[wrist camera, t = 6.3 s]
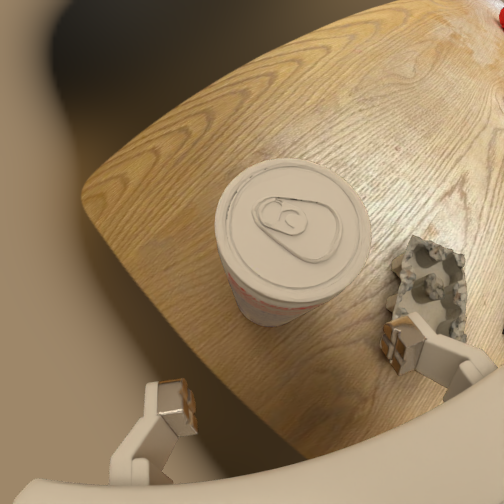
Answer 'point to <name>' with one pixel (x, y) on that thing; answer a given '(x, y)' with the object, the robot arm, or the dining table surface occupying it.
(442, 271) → the egg carton
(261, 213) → the beverage can
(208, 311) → the dining table surface
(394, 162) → the dining table surface
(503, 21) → the tomato
